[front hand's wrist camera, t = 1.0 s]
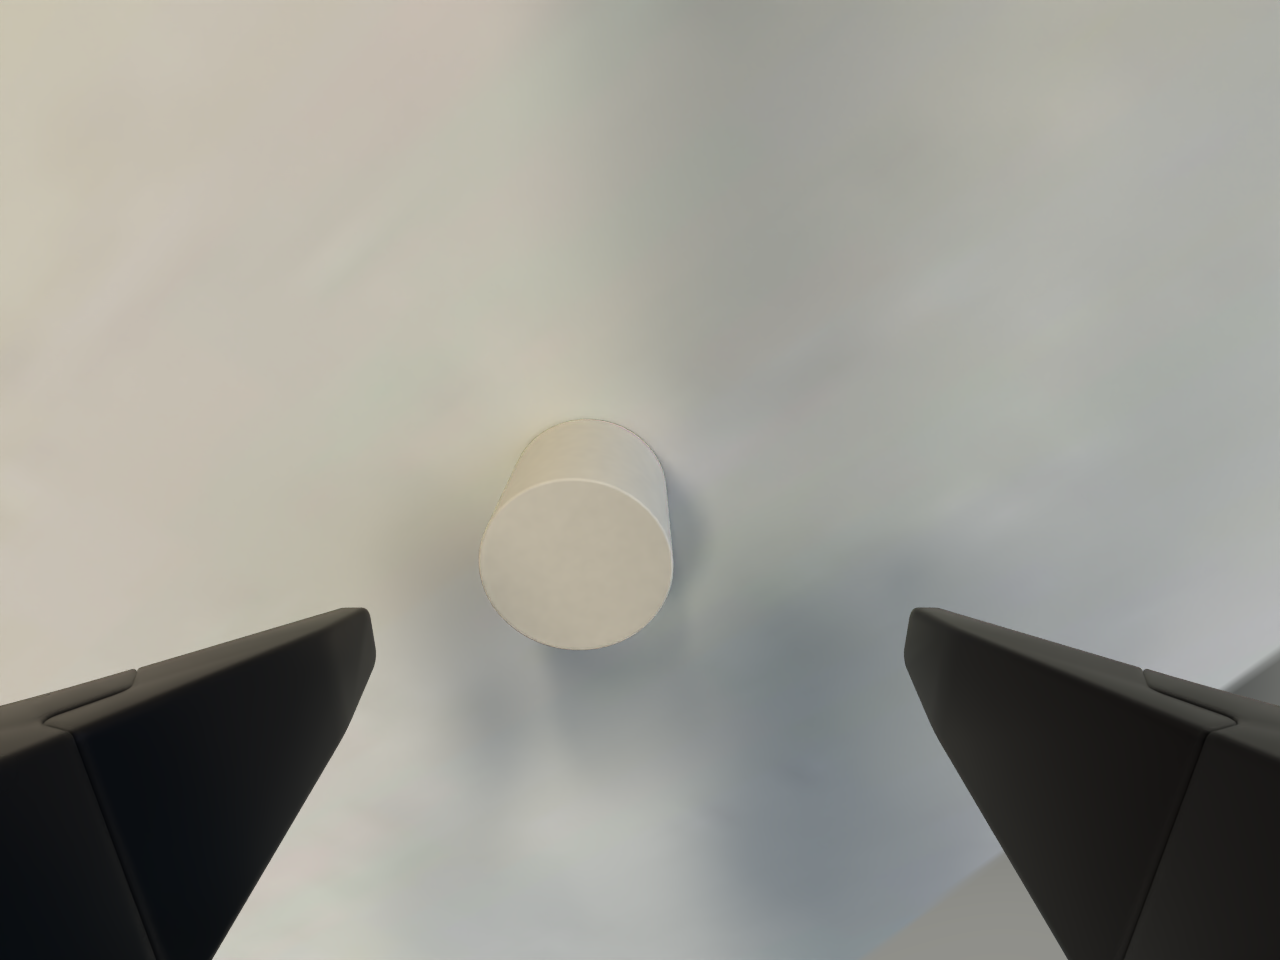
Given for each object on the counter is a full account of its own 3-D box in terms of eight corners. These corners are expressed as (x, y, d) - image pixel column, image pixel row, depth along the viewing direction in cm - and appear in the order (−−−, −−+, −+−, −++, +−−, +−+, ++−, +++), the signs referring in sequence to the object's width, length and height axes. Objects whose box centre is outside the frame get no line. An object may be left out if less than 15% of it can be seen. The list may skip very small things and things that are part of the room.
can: (533, 572, 19) (507, 664, 15) (494, 434, 17) (453, 498, 14) (679, 547, 19) (688, 634, 15) (650, 405, 17) (654, 461, 13)
